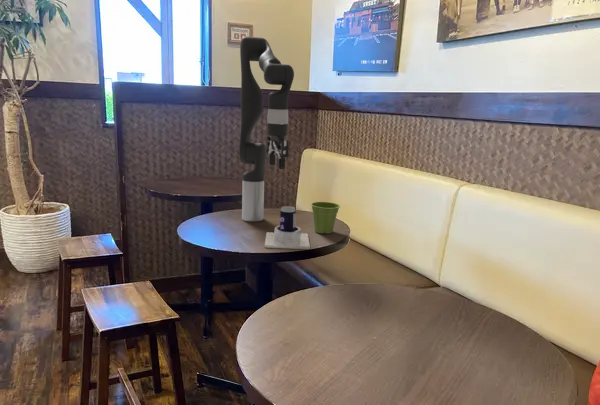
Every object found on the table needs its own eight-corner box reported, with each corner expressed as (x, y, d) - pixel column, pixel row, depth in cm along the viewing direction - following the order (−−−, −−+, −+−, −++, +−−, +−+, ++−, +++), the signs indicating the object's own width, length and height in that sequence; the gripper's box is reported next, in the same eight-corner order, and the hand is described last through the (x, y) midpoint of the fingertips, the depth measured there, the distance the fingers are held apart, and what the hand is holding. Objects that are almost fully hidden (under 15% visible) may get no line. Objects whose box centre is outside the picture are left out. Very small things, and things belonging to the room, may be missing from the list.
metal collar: (266, 234, 176) (266, 222, 175) (307, 236, 177) (308, 223, 176) (264, 247, 160) (265, 234, 159) (309, 249, 161) (310, 235, 160)
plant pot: (334, 237, 177) (336, 209, 174) (305, 233, 180) (306, 205, 178) (341, 230, 188) (343, 203, 185) (314, 226, 191) (315, 200, 189)
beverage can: (285, 235, 172) (286, 205, 170) (297, 238, 169) (298, 207, 166) (276, 239, 168) (277, 207, 165) (288, 242, 164) (289, 210, 162)
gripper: (260, 120, 167) (259, 164, 171) (276, 123, 155) (275, 170, 159) (279, 120, 171) (278, 163, 174) (295, 123, 158) (294, 169, 162)
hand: (276, 166), depth 167 cm, fingers open, 8 cm apart
